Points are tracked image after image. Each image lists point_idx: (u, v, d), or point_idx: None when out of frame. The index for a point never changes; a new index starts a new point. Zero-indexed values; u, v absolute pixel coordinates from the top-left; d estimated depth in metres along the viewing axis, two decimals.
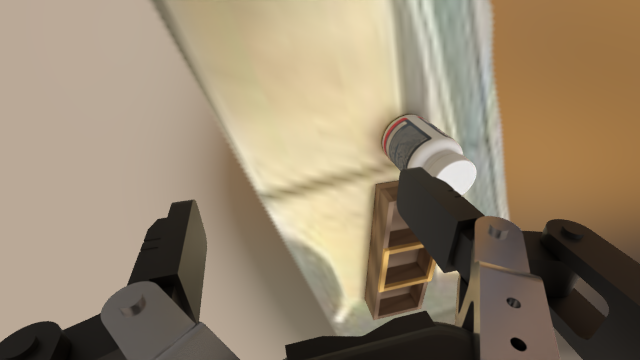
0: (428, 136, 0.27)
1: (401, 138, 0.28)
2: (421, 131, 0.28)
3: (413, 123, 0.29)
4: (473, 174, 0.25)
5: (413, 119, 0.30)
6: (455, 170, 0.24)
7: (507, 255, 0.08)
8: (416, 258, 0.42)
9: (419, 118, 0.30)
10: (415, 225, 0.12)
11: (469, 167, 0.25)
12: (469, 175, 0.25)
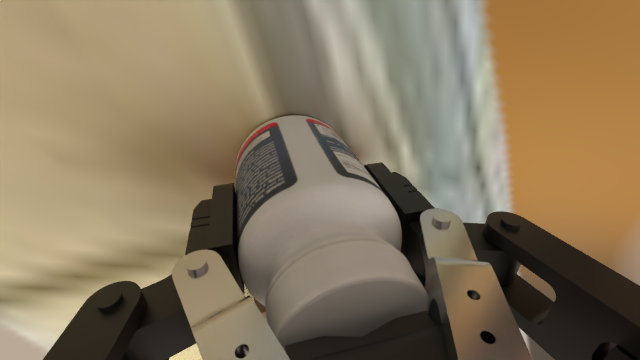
0: (290, 176, 0.09)
1: (244, 176, 0.11)
2: (285, 158, 0.10)
3: (281, 136, 0.11)
4: (420, 310, 0.07)
5: (290, 125, 0.12)
6: (346, 308, 0.07)
7: (454, 246, 0.08)
8: None
9: (307, 123, 0.12)
10: None
11: (401, 294, 0.07)
12: (406, 313, 0.07)
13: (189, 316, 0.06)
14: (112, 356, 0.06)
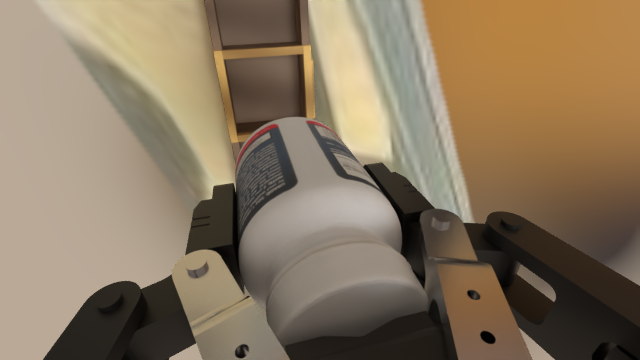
0: (291, 178, 0.09)
1: (244, 178, 0.11)
2: (285, 160, 0.10)
3: (281, 138, 0.11)
4: None
5: (290, 127, 0.12)
6: (347, 310, 0.07)
7: (454, 246, 0.08)
8: (299, 110, 0.30)
9: (307, 125, 0.12)
10: None
11: (402, 297, 0.07)
12: None
13: (189, 316, 0.06)
14: (112, 356, 0.06)
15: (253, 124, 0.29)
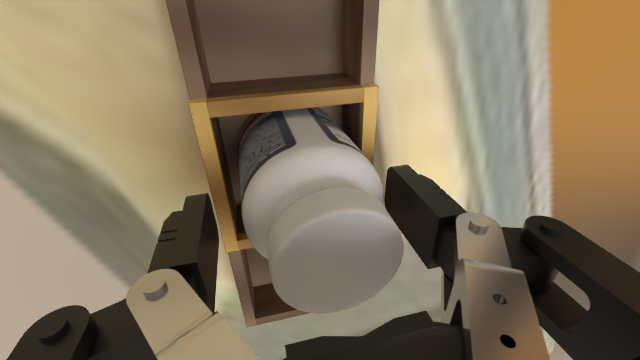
0: (290, 141, 0.10)
1: (248, 146, 0.12)
2: (285, 129, 0.11)
3: (281, 114, 0.13)
4: (395, 247, 0.09)
5: None
6: (335, 237, 0.08)
7: (489, 251, 0.08)
8: None
9: None
10: (401, 222, 0.12)
11: (379, 229, 0.08)
12: (383, 249, 0.09)
13: (152, 343, 0.06)
14: None
15: None
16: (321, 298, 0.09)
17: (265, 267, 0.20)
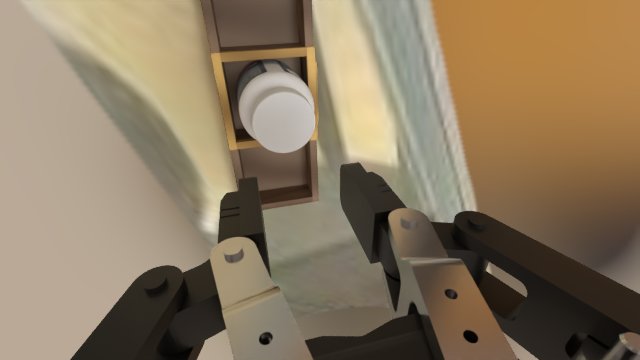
0: (264, 71, 0.20)
1: (243, 78, 0.22)
2: (262, 68, 0.21)
3: (262, 63, 0.23)
4: (310, 117, 0.19)
5: (267, 60, 0.24)
6: (280, 106, 0.18)
7: (425, 244, 0.08)
8: None
9: (276, 61, 0.24)
10: (352, 218, 0.12)
11: (301, 105, 0.18)
12: (304, 117, 0.19)
13: (221, 298, 0.07)
14: (152, 336, 0.06)
15: None
16: (276, 142, 0.19)
17: None
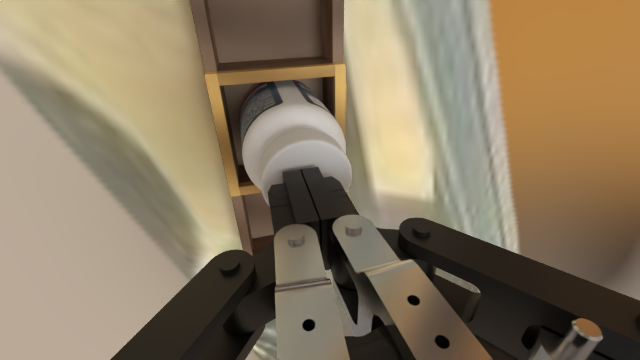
0: (279, 101, 0.15)
1: (248, 107, 0.16)
2: (276, 94, 0.16)
3: (274, 86, 0.17)
4: (345, 172, 0.13)
5: (281, 81, 0.18)
6: (303, 159, 0.12)
7: (374, 250, 0.08)
8: None
9: (293, 81, 0.18)
10: None
11: (334, 157, 0.13)
12: (338, 173, 0.13)
13: (277, 277, 0.07)
14: (219, 317, 0.07)
15: None
16: None
17: (262, 221, 0.24)
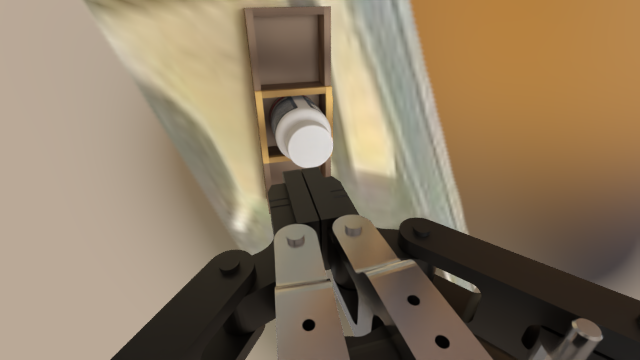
0: (295, 106, 0.28)
1: (277, 110, 0.29)
2: (293, 103, 0.29)
3: (291, 98, 0.30)
4: (329, 142, 0.26)
5: None
6: (308, 135, 0.25)
7: (374, 250, 0.08)
8: None
9: (302, 96, 0.31)
10: None
11: (324, 134, 0.26)
12: (325, 142, 0.26)
13: (277, 277, 0.07)
14: (219, 316, 0.07)
15: None
16: (303, 160, 0.26)
17: None
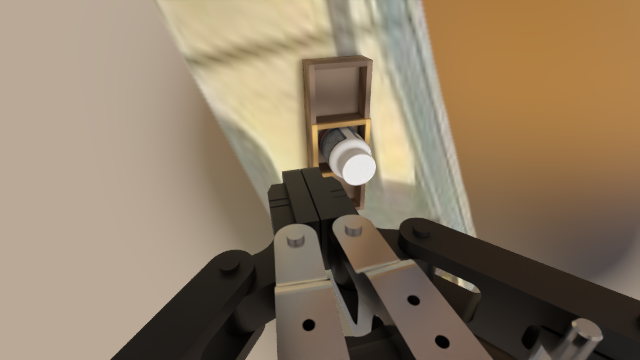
0: (345, 137, 0.36)
1: (328, 138, 0.37)
2: (342, 133, 0.37)
3: (338, 128, 0.38)
4: (373, 166, 0.34)
5: None
6: (358, 161, 0.33)
7: (374, 250, 0.08)
8: None
9: None
10: None
11: (369, 160, 0.34)
12: (370, 166, 0.34)
13: (277, 277, 0.07)
14: (219, 316, 0.07)
15: (325, 164, 0.42)
16: (353, 179, 0.35)
17: None
